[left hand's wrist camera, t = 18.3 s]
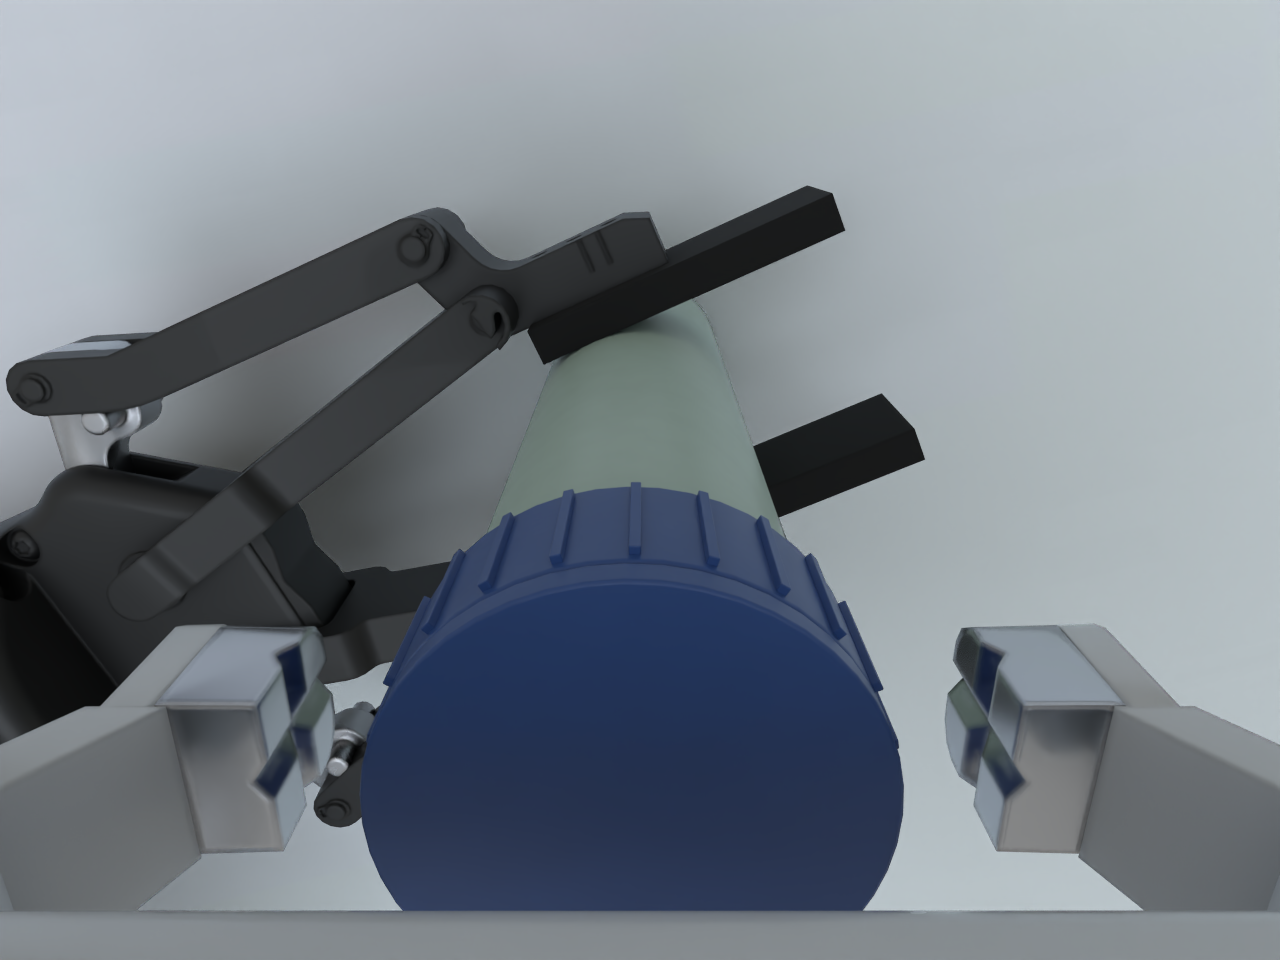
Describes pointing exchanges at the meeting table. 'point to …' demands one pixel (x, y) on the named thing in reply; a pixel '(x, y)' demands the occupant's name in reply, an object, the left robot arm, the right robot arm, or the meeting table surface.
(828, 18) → the meeting table surface
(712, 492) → the jar
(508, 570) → the lid
